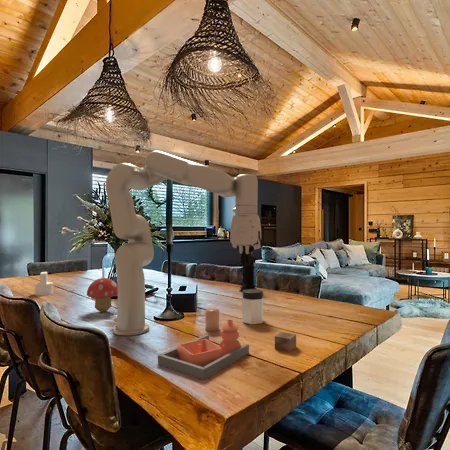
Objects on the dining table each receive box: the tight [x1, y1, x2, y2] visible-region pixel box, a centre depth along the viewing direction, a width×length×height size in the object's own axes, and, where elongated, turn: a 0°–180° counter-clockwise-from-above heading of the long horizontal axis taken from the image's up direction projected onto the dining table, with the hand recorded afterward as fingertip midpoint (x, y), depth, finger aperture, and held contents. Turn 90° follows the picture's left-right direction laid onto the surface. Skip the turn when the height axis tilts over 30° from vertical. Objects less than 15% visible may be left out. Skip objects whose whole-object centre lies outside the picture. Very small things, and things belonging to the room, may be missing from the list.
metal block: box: [274, 331, 297, 353], centre depth 101 cm, size 5×5×4 cm
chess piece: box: [239, 255, 257, 294], centre depth 190 cm, size 8×8×20 cm
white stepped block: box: [34, 271, 54, 296], centre depth 187 cm, size 9×9×12 cm
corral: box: [157, 334, 250, 381], centre depth 93 cm, size 16×21×2 cm
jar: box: [241, 288, 264, 325], centre depth 130 cm, size 9×8×12 cm
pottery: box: [177, 319, 242, 367], centre depth 94 cm, size 18×10×10 cm, turn 122°
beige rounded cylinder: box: [204, 307, 220, 332], centre depth 120 cm, size 5×5×7 cm
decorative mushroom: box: [86, 277, 118, 313], centre depth 146 cm, size 13×13×15 cm
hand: (245, 265), depth 112 cm, fingers closed
